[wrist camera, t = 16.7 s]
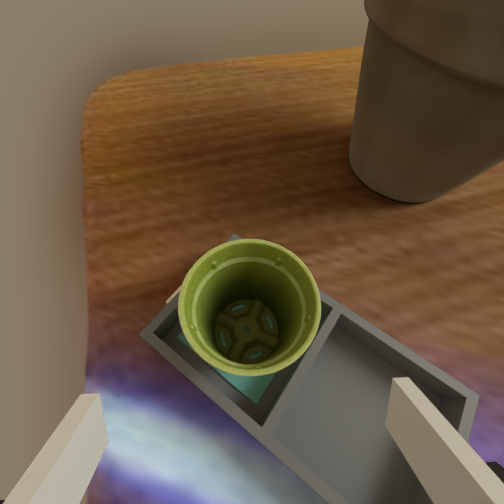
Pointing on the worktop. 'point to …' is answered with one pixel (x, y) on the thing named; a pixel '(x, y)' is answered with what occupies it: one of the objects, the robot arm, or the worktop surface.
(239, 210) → the worktop surface
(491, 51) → the plant pot
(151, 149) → the worktop surface
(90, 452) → the robot arm
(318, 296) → the plant pot
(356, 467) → the tray
